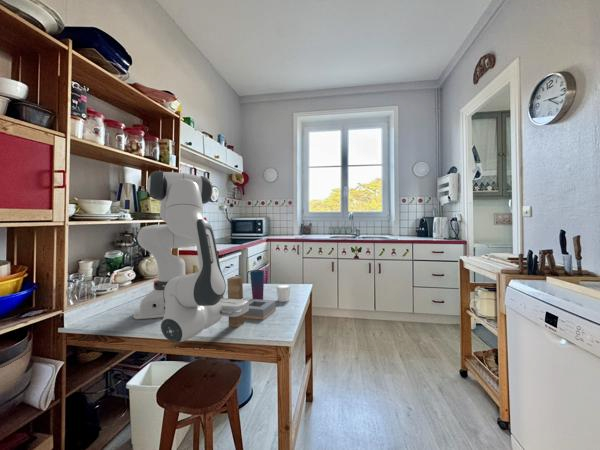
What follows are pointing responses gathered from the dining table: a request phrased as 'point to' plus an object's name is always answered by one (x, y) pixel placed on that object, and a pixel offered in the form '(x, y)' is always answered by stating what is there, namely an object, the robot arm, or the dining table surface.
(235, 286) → the block
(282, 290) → the shot glass
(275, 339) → the dining table surface
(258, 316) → the end cap
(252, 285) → the cup
